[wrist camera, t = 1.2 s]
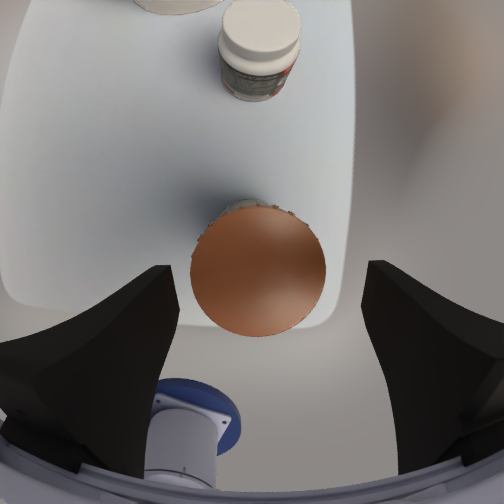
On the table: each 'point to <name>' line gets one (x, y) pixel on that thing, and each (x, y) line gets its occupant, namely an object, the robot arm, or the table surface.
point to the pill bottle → (258, 47)
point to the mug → (176, 6)
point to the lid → (257, 270)
